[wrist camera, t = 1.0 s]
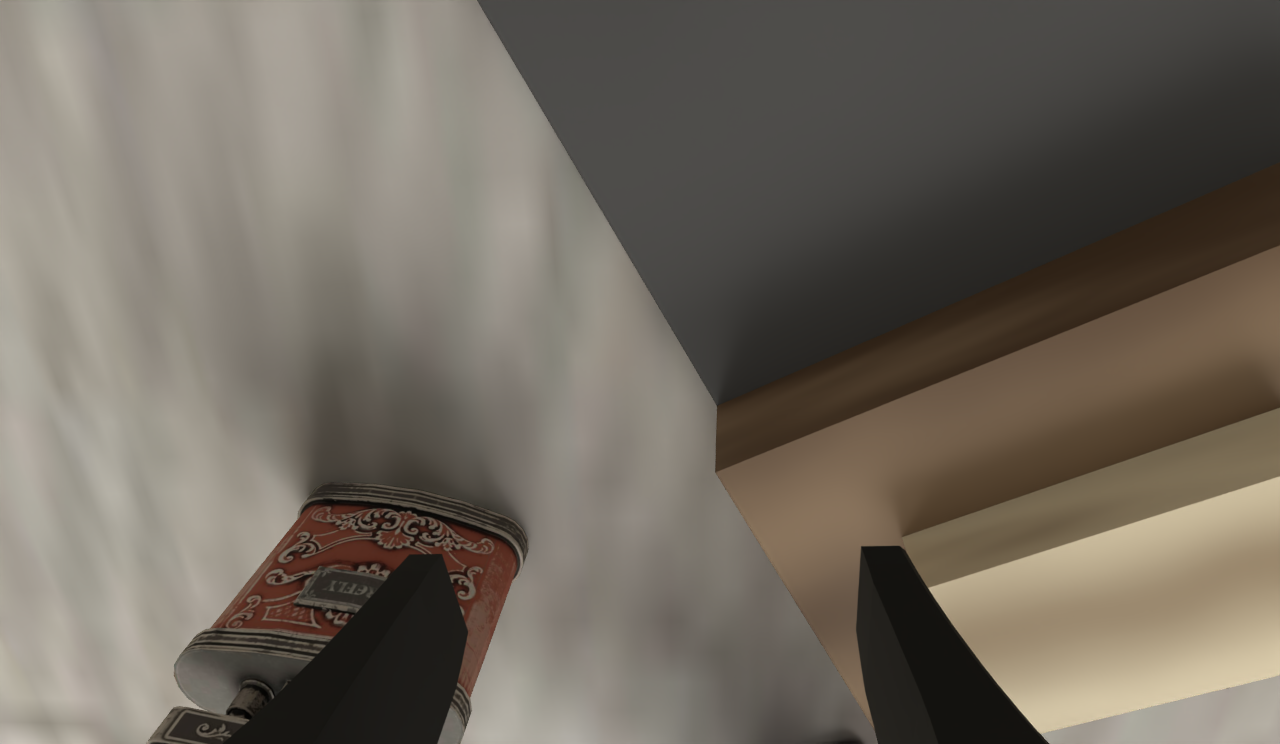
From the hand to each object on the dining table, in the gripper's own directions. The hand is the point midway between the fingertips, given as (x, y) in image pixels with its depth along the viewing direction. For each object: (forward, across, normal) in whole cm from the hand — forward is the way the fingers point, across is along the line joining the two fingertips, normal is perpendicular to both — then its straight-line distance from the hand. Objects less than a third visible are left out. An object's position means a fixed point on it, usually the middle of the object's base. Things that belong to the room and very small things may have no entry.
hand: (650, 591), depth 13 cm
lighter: (+10, +10, +8) cm, 16 cm away
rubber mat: (+11, -6, -7) cm, 14 cm away
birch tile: (+6, -11, +6) cm, 14 cm away
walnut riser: (+10, -11, +5) cm, 16 cm away
